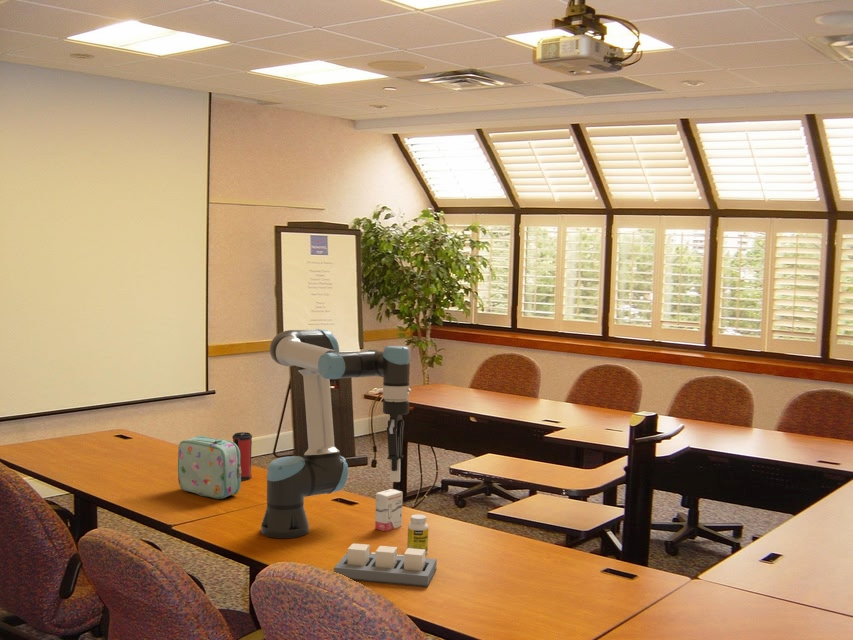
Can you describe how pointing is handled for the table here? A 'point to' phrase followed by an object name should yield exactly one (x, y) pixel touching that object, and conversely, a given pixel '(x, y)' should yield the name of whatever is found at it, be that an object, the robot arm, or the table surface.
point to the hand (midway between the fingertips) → (395, 481)
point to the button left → (358, 554)
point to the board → (387, 572)
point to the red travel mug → (244, 453)
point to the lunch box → (209, 467)
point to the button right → (414, 559)
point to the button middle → (386, 557)
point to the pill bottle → (418, 533)
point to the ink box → (388, 510)
